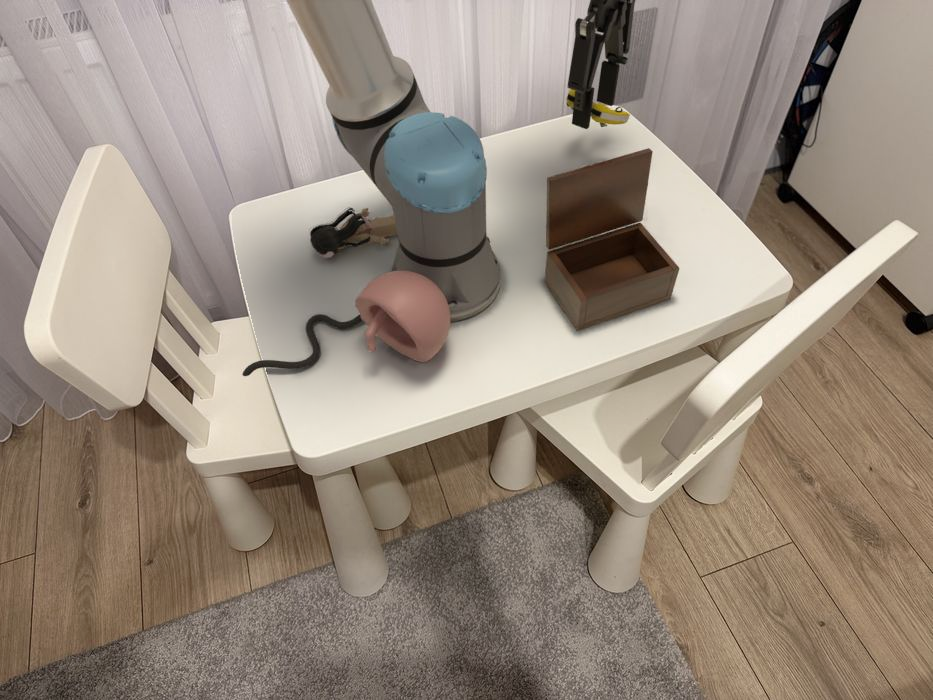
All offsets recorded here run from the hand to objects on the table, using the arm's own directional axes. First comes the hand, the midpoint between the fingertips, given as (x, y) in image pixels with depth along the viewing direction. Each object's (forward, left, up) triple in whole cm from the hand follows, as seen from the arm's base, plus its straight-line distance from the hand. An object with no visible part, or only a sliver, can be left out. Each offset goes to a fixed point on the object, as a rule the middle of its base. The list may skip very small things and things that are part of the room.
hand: (592, 113), depth 107 cm
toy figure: (-37, +18, -8) cm, 42 cm away
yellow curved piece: (0, 0, 0) cm, 1 cm away
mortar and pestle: (-44, -4, 0) cm, 44 cm away
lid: (-23, -13, +4) cm, 27 cm away
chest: (-25, -18, -8) cm, 32 cm away
